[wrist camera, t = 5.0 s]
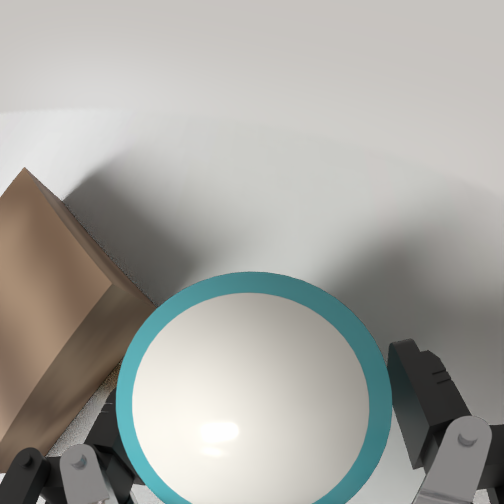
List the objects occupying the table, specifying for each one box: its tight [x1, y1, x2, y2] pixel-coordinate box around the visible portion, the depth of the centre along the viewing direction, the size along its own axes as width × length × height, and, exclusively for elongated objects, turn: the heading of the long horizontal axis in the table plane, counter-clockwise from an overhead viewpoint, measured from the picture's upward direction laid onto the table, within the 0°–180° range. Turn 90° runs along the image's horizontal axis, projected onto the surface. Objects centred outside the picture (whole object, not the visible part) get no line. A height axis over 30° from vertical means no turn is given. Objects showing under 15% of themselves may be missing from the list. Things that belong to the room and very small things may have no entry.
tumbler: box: [116, 272, 392, 504], centre depth 10 cm, size 6×6×10 cm
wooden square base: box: [0, 167, 157, 473], centre depth 16 cm, size 16×14×5 cm
